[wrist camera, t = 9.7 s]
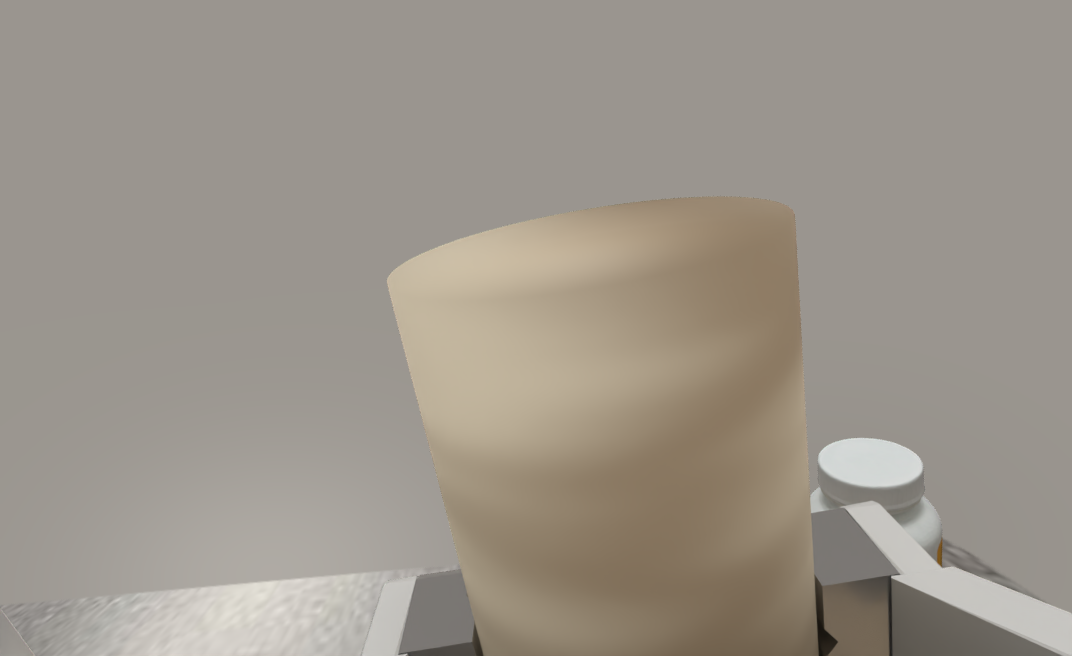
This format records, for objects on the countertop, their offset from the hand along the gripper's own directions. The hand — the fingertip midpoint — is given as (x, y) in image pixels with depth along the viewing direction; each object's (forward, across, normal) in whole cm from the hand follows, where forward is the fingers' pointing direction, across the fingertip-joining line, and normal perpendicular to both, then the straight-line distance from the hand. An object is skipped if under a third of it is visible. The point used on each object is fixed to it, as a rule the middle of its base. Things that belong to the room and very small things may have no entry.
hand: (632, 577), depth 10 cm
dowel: (-1, 0, -6) cm, 7 cm away
